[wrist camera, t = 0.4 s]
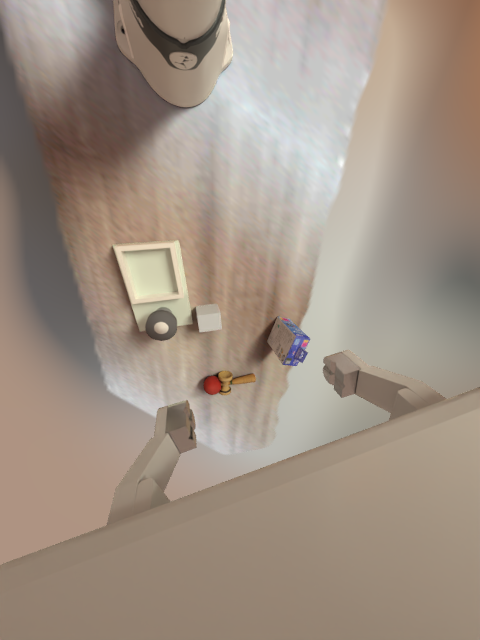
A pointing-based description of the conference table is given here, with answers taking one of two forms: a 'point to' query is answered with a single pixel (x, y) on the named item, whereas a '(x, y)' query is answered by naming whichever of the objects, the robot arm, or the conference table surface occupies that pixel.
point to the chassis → (154, 279)
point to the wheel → (161, 325)
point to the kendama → (224, 382)
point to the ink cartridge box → (288, 342)
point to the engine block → (208, 317)
